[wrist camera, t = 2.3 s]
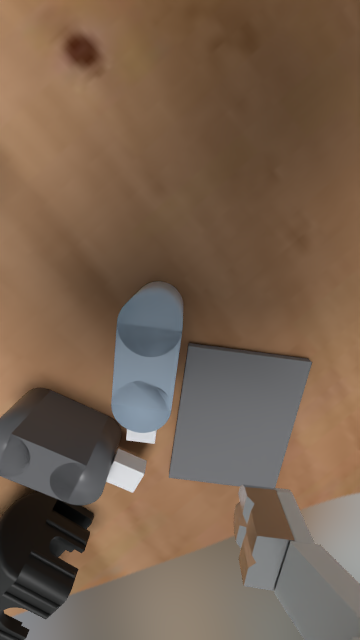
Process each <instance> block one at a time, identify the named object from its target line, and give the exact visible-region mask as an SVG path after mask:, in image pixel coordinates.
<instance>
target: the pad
mask: <svg viewBox="0 0 360 640" xmlns="http://www.w3.org/2000/svg"><path fill="white" fill-rule="evenodd" d="M311 364H312V362H311V361H310V360H309V359H306V358H298V357H291V356H283V355H276V354H268V353H261V352H253V351H245V350H238V349H230V348H223V347H215V346H207V345H200V344H192V343H189V345H188V351H187V358H186V365H185V371H184V378H183V384H182V391H181V398H180V404H179V411H178V418H177V424H176V431H175V437H174V444H173V451H172V457H171V464H170V471H169V478H176V479H184V480H192V481H200V482H208V483H217V484H225V485H233V486H241V485H242V484H244V485H253V486H261V487H270V488H275V486H276V483H277V479H278V476H279V472H280V469H281V466H282V462H283V459H284V456H285V452H286V449H287V445H288V442H289V439H290V435H291V432H292V429H293V425H294V422H295V418H296V415H297V412H298V408H299V405H300V401H301V398H302V395H303V391H304V388H305V385H306V381H307V378H308V374H309V371H310V368H311Z"/></svg>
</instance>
